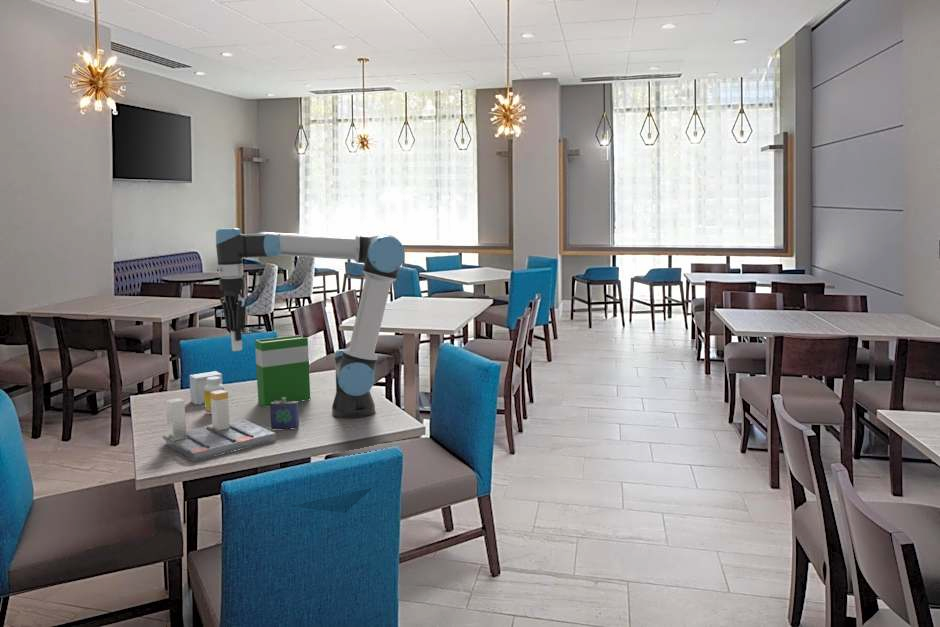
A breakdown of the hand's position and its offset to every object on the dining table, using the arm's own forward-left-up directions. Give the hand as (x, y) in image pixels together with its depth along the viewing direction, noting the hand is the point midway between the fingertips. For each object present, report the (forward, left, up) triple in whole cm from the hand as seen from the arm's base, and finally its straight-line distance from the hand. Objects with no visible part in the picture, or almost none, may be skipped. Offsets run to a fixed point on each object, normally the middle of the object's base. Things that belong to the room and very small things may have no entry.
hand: (237, 350), depth 236 cm
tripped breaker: (+4, +5, -25) cm, 26 cm away
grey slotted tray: (+1, +11, -27) cm, 29 cm away
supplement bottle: (+23, -17, -28) cm, 40 cm away
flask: (-11, -7, -28) cm, 31 cm away
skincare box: (+36, -30, -28) cm, 54 cm away
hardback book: (+7, -37, -28) cm, 47 cm away
